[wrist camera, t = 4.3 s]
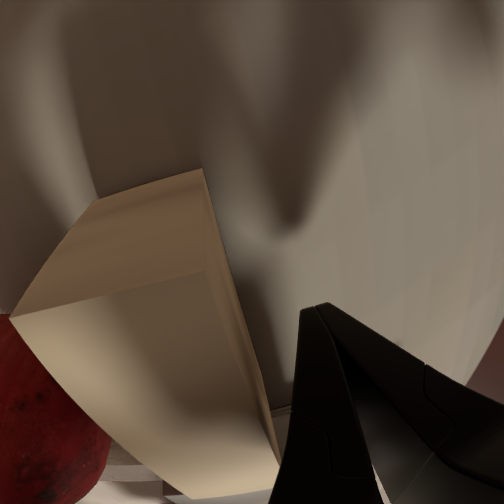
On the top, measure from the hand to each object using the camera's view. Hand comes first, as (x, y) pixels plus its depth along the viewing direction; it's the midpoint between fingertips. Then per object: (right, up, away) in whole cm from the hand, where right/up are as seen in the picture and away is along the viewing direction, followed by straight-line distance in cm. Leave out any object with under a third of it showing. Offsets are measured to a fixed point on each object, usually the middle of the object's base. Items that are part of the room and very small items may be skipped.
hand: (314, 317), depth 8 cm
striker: (-3, -2, +3) cm, 5 cm away
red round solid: (-9, -1, +2) cm, 9 cm away
